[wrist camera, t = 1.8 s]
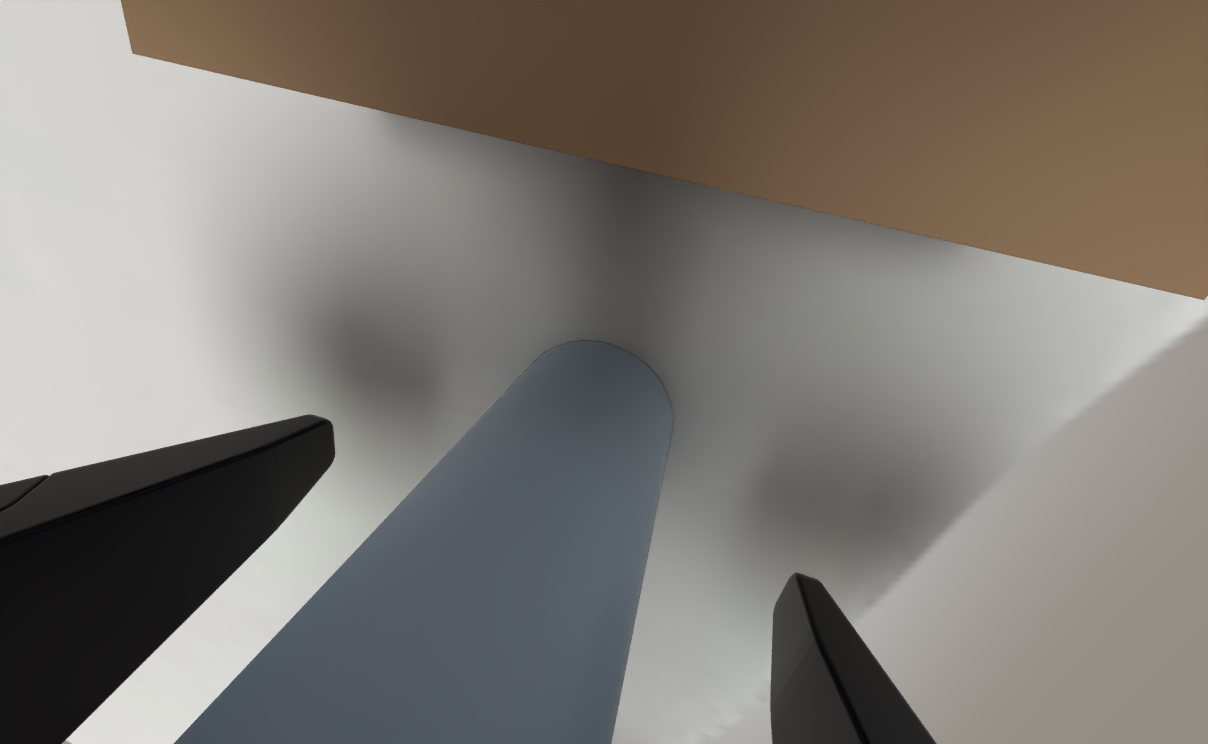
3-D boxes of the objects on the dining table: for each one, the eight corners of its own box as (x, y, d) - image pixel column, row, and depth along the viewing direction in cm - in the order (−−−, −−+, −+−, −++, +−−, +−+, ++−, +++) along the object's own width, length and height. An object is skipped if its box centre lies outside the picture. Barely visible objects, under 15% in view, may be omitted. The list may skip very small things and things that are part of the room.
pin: (650, 498, 12) (466, 1343, 4) (511, 454, 13) (44, 1099, 4) (693, 367, 11) (532, 1413, 2) (528, 321, 11) (-242, 959, 2)
